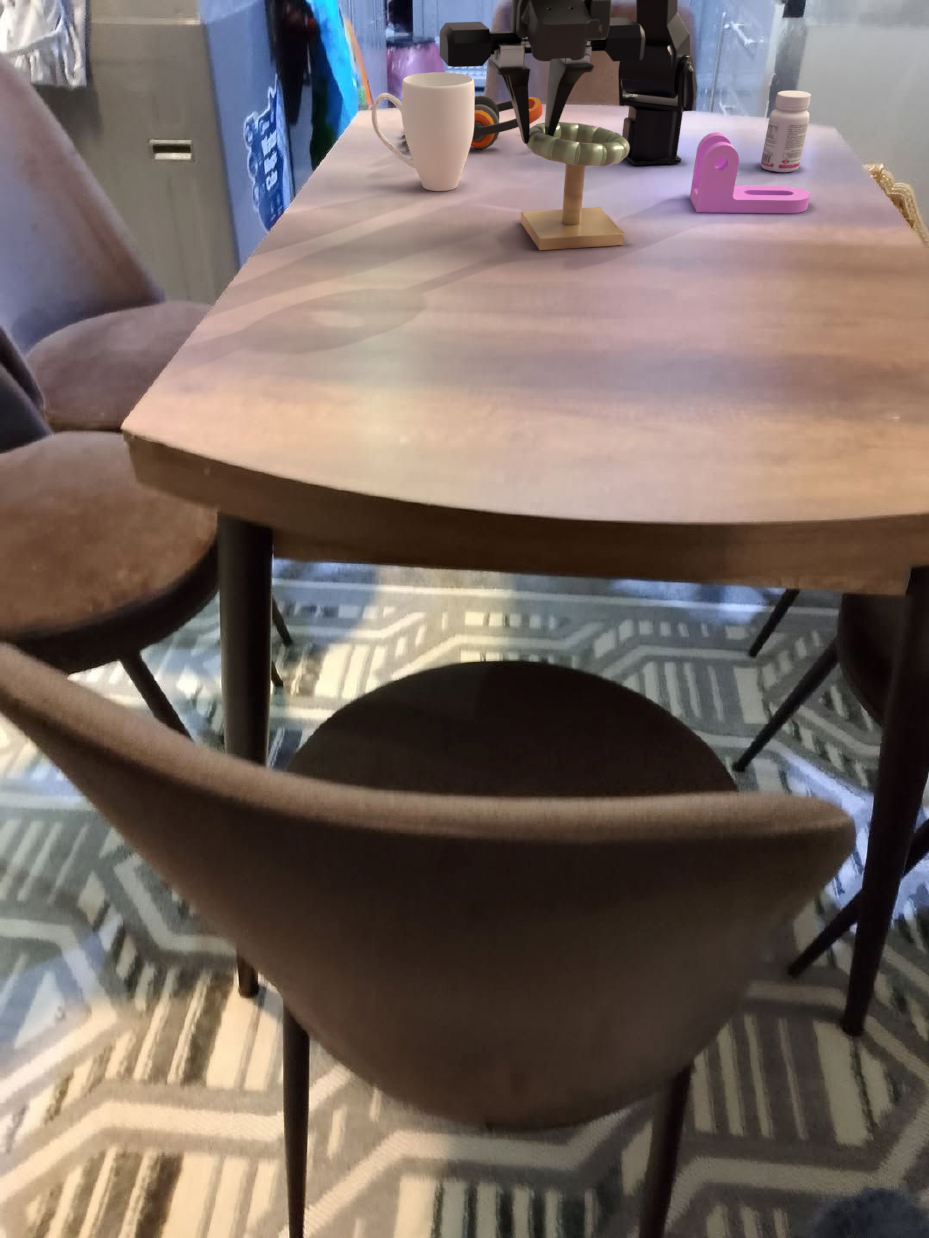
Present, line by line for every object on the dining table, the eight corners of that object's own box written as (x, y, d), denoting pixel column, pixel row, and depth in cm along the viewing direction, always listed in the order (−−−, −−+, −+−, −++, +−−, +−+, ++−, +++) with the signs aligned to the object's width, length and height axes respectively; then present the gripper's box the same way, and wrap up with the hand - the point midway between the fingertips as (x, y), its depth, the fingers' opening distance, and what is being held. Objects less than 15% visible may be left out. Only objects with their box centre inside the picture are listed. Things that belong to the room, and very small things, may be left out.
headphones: (399, 107, 131) (536, 71, 128) (409, 146, 134) (542, 112, 131) (390, 138, 118) (541, 99, 115) (401, 180, 122) (548, 143, 118)
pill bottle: (801, 165, 118) (817, 91, 112) (794, 175, 114) (811, 99, 109) (763, 161, 119) (778, 88, 114) (756, 170, 116) (771, 95, 110)
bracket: (696, 212, 103) (707, 145, 99) (689, 197, 107) (699, 132, 103) (812, 213, 103) (828, 146, 98) (800, 198, 107) (815, 133, 102)
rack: (599, 218, 102) (605, 147, 97) (623, 245, 95) (631, 171, 90) (520, 222, 100) (523, 151, 96) (539, 250, 94) (543, 175, 89)
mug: (474, 176, 114) (474, 72, 106) (473, 196, 108) (474, 87, 100) (379, 176, 114) (372, 72, 107) (372, 196, 108) (365, 87, 100)
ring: (608, 144, 97) (612, 123, 96) (639, 171, 90) (643, 149, 88) (514, 138, 96) (517, 117, 94) (537, 165, 88) (540, 143, 86)
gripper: (457, -38, 74) (458, 169, 84) (676, -43, 76) (651, 159, 86) (437, -51, 82) (440, 139, 92) (635, -55, 85) (617, 131, 95)
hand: (536, 142), depth 91 cm, fingers closed on ring, 2 cm apart
